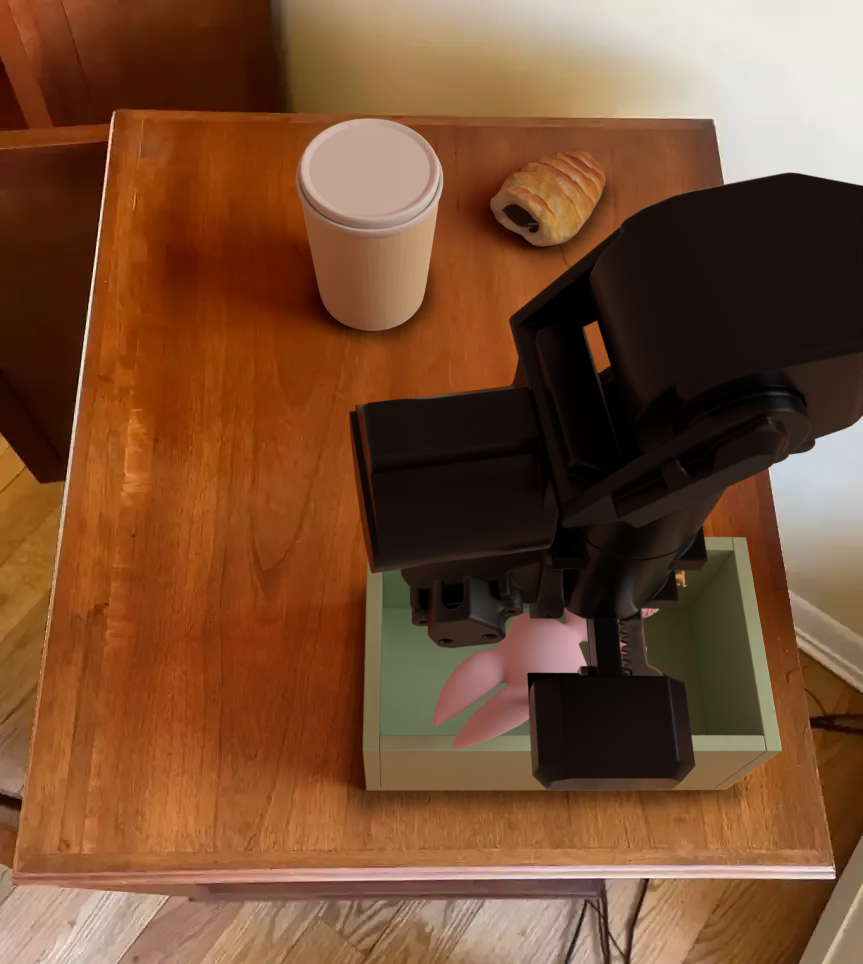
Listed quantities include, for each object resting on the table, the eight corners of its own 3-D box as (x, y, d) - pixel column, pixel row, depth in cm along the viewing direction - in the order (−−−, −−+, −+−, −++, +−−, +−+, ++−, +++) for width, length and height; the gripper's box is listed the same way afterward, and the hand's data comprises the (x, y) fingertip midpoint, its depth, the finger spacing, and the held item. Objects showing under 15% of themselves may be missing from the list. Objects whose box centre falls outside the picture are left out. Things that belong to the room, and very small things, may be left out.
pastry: (557, 152, 82) (564, 115, 78) (624, 196, 80) (635, 159, 76) (481, 216, 78) (486, 180, 75) (550, 264, 76) (558, 229, 73)
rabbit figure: (618, 540, 57) (405, 700, 52) (634, 480, 52) (399, 651, 47) (701, 619, 54) (484, 797, 49) (726, 564, 49) (487, 755, 44)
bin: (699, 600, 64) (746, 536, 55) (725, 790, 58) (782, 751, 50) (370, 598, 63) (367, 533, 55) (366, 790, 57) (362, 750, 49)
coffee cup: (434, 240, 77) (441, 114, 66) (438, 341, 72) (446, 223, 62) (310, 239, 76) (297, 113, 66) (306, 341, 72) (292, 223, 61)
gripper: (415, 285, 42) (405, 466, 56) (416, 739, 33) (403, 821, 47) (682, 292, 42) (606, 470, 56) (751, 740, 34) (642, 820, 47)
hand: (562, 630), depth 52 cm, fingers closed on rabbit figure, 7 cm apart
